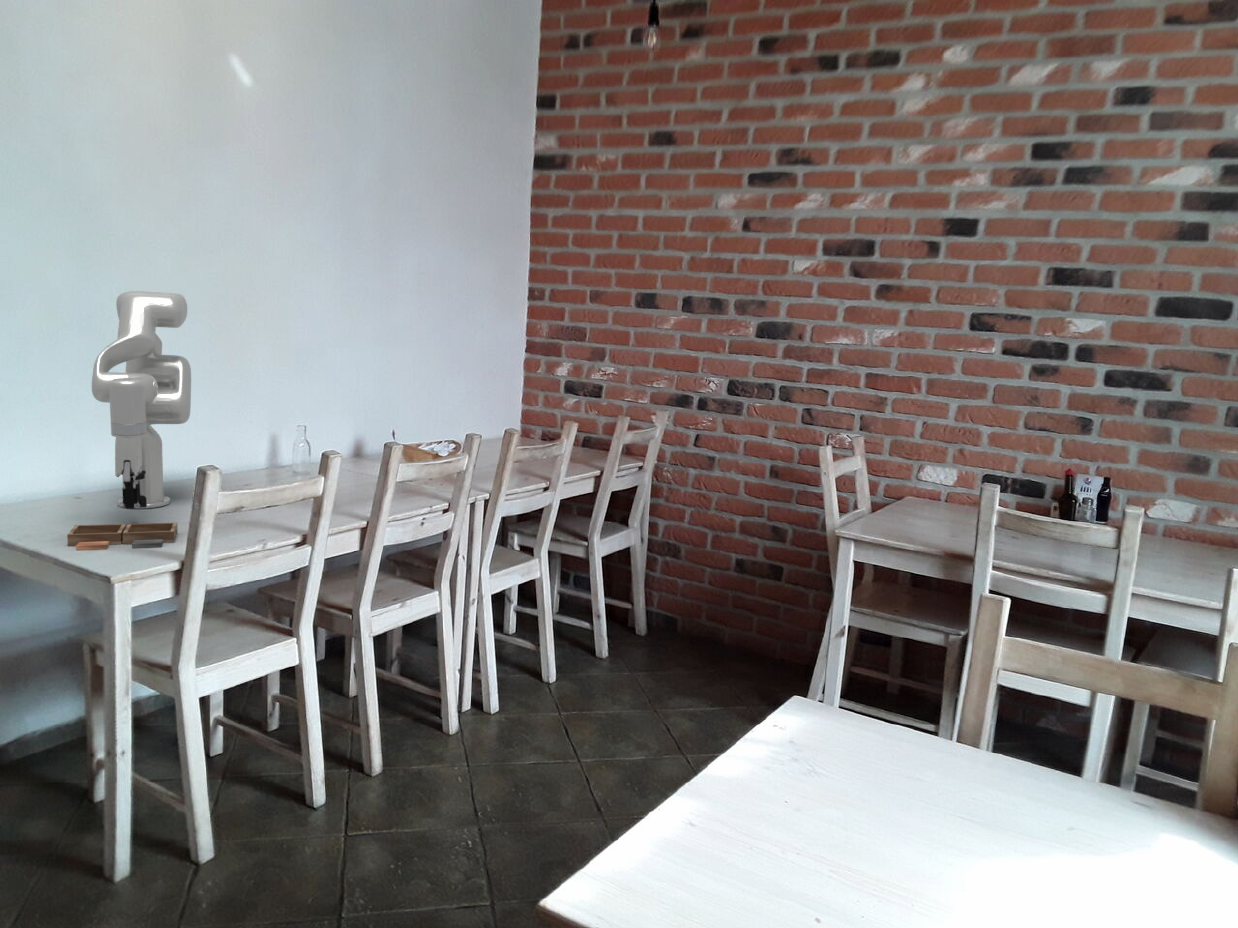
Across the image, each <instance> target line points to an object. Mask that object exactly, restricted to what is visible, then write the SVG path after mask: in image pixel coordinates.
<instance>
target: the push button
mask: <svg viewBox="0 0 1238 928" xmlns="http://www.w3.org/2000/svg"><path fill="white" fill-rule="evenodd" d="M133 474H134V473H130V476H134V475H133ZM145 474H146V471H144V470H142V468H140V472H139V474H138V476H136V488H137V489H138V503H137V504H124V506H119V505H118V504H123V502H121V503H118V502H117V503H116V504H117V506H116V508H118V509H119V508H125V509H126V510H130V509H140V508H139V507H146V506H147V501H146V497H145V496H144V493H143V490H142V479H144V478H145ZM121 476H123V472H122V474H121ZM131 480H133V478H131ZM138 481H139V485H138Z"/></svg>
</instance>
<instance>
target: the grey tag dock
mask: <svg viewBox="0 0 1238 928" xmlns="http://www.w3.org/2000/svg"><path fill="white" fill-rule="evenodd" d="M177 532H178V522H151V523H150V522H149V523H148V522H147V523H144V522H143V523H128V524H126V528H125V530H124V532H123V542H122V544H123V545H131V549H144V548H145V549H146V548H147V549H149V548H162V547H163V544H166V542H169V543H175V541H176V539H177V536H176V535H178V533H177Z"/></svg>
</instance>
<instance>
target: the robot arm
mask: <svg viewBox="0 0 1238 928" xmlns="http://www.w3.org/2000/svg"><path fill="white" fill-rule="evenodd" d="M115 303H116V305H115V307H116V311H117V316H118V317H117V318H118V327H117V328H118V331H117V339H116V340H115V339H114V340H113V341H112V342H111V343H110V344H108V345H106V347H104V349H103V350H102V351H100V353H99V354H98V355H97V357H96V358H95V361H94V363H93V367H92V368H93V369H92V370H93V371H92V378H91V393H92V395H93V398H94V399H95V400H97V402H100V403H108V404H109V411H110V412H109V413H110V414H109V415H110V417H109V418H110V435H111V436H112V437H114V438H115V440H114V441H115V443H114V468H115V469H114V472H115V473H114V474H115V477H116V478H119V477H120V476H122V488H121V489H122V497H121V498H119V499H118V500H117V503H121V502H123V504H117V506H124V504H137V503H138V489H137V488H136V476H138V474H139V472H140V468H142V470H144V471H146V474H145V478H144V479H142V490H143V493H144V496H145V497H146V501H147V506H146V507H139V508H138V509H152V508H154V509H155V508H160V507H164V506H167V505H169V504H170V503H171V498H170V497H169V496H166V495H164V494H165V493H164V466H163V465H164V464H163V441H162V437H161V436H160V434H159V433H158V432H157V431H156V430H155V428H153V426H152V425H182V424H185V423H186V422H188V421H189V419H190V416H191V405H192V402H191V401H192V369H191V365H190V362H189V360H188V359H187V358H185V357H184V356H181V355H176V354H163V341H162V340H161V338H160V337H159V336H158V335H157V333H156V330H157V329H156V328H170V329H172V328H173V329H177V328H180V327H181V326H182V325H183V324H184V323H185V321H186V319H187V317H188V304H187V301H186V298H185V296H183V294H180V293H174V292H158V291H157V292H156V291H144V290H136V291H135V290H131V291H130V290H129V291H125V292H122V293H120V294H119V295H118V296H117V298H116V302H115ZM123 363H125V372H117V371H116V372H113V371H112V372H110V370H112V369H113V368H114V367H116V366H118V365H120V364H123ZM122 472H123V475H122ZM130 473H134V474H133V475H134V476H130ZM131 478H133V480H131ZM138 485H139V481H138Z"/></svg>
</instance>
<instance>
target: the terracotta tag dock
mask: <svg viewBox="0 0 1238 928" xmlns="http://www.w3.org/2000/svg"><path fill="white" fill-rule="evenodd" d="M126 526H127V523H112V524H110V523H108V524H80V525H79V524H76V525H74V526H73V527H72V528H71V530H70V531H69V532H68V533H67V534H66V535H67V537H66V538H67V547H75V548H76V549H75V550H76V551H89V550H90V551H92V550H94V551H95V550H107V549H108V548H109V546H110V545H122V544H123V532H124V530H125V528H126Z"/></svg>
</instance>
